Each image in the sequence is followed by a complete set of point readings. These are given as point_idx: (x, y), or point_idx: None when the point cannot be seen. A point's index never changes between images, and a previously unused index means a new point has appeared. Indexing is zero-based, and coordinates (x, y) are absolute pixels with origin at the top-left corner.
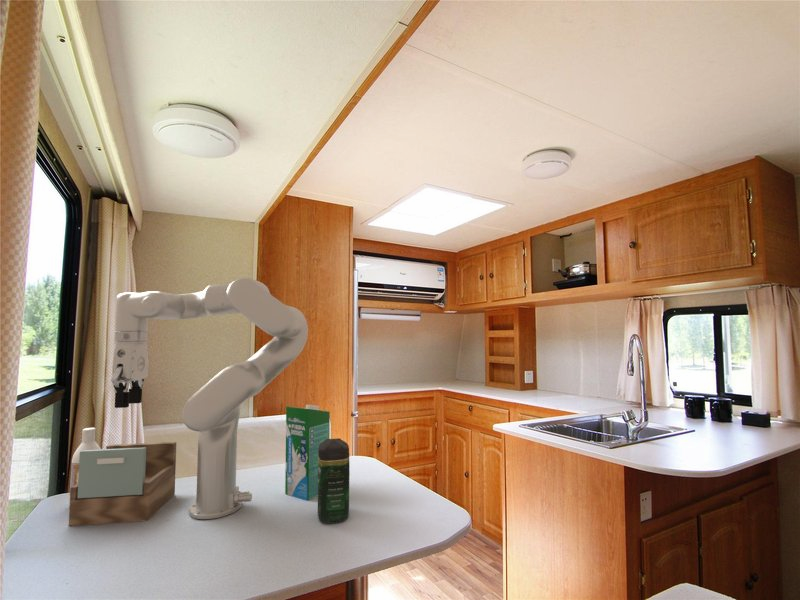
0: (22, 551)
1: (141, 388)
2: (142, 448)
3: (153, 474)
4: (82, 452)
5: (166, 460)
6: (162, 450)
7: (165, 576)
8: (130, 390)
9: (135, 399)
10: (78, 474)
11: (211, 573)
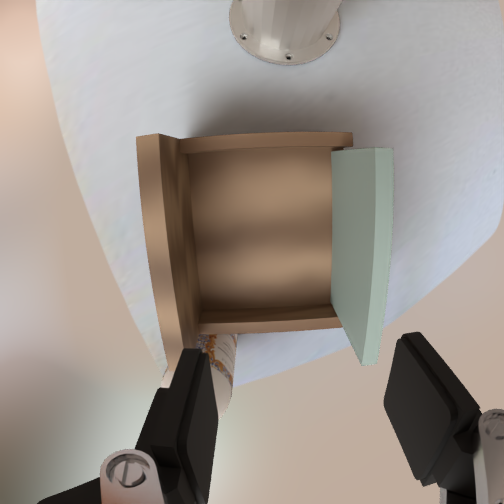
0: (408, 297)
1: (160, 447)
2: (390, 155)
3: (189, 197)
4: (376, 355)
5: (176, 161)
6: (168, 178)
7: (486, 56)
8: (207, 493)
9: (209, 399)
10: (233, 372)
11: (476, 9)
